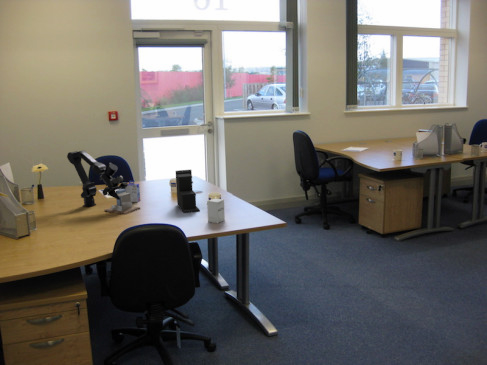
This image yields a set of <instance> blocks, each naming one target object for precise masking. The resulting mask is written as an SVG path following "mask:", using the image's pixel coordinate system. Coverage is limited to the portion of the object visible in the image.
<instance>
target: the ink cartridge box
mask: <svg viewBox="0 0 487 365" xmlns="http://www.w3.org/2000/svg"><path fill="white" fill-rule="evenodd" d="M127 184H128V186H127V187H126V188H125V189H126V193H130V198H131V203H138V202H140V201H141V192H140V191H141V190H140V183H135V180H129V183H127Z"/></svg>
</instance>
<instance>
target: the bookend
mask: <svg viewBox="0 0 487 365" xmlns="http://www.w3.org/2000/svg"><path fill="white" fill-rule="evenodd" d="M175 183H176V186H175V187H176V202H177V205H178V207H179V209H180V210H181V211H182V212H183V214H187V213H198V212H199V213H200V211H201V210H200V209H199V207H198V205H197V197H196V196H197V194H196V193H195V191H194V190H193V184H194V181H193V175H192V169H181V170H175Z"/></svg>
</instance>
